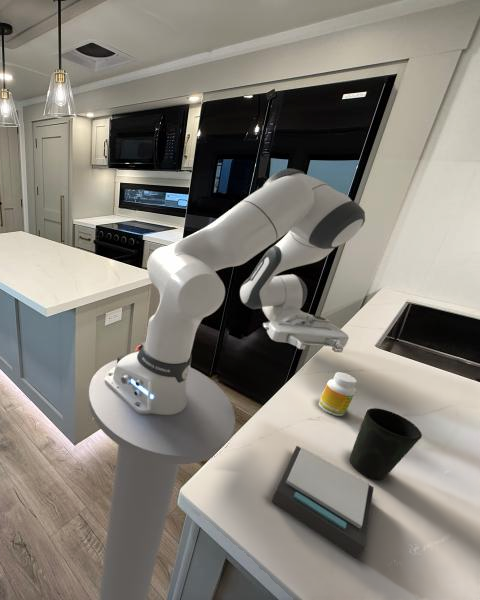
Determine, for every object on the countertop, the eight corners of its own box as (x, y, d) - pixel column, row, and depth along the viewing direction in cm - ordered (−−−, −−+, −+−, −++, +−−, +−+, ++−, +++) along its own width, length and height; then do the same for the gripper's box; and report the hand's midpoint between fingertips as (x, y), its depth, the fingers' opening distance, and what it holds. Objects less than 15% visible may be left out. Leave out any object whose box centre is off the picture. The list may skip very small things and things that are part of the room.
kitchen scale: (271, 501, 55) (277, 487, 53) (292, 455, 64) (297, 442, 63) (356, 558, 47) (366, 544, 46) (366, 498, 56) (375, 483, 55)
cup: (349, 445, 67) (372, 402, 62) (396, 471, 62) (425, 426, 57) (337, 463, 63) (361, 418, 58) (386, 493, 57) (417, 446, 53)
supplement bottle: (342, 420, 74) (358, 387, 70) (315, 407, 78) (329, 376, 74) (346, 409, 78) (362, 378, 74) (321, 398, 81) (334, 367, 77)
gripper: (263, 313, 96) (284, 335, 84) (332, 318, 94) (365, 342, 82) (257, 330, 99) (277, 354, 86) (325, 336, 97) (356, 361, 84)
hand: (321, 348), depth 84 cm, fingers open, 8 cm apart
